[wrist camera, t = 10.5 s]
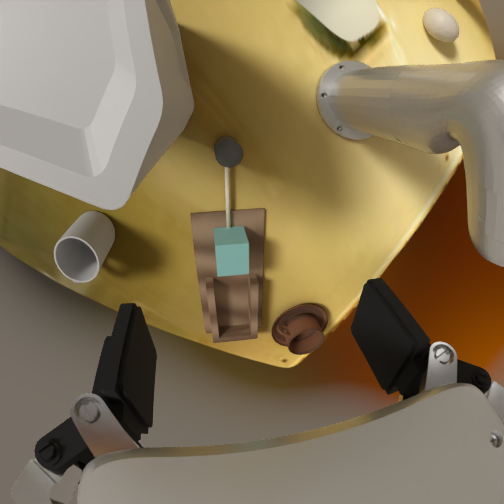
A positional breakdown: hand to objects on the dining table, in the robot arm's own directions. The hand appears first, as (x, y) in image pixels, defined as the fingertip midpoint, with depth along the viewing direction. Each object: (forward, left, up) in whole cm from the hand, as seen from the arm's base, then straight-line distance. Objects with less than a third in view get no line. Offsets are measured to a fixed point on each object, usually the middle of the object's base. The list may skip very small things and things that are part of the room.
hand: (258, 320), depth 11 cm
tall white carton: (+10, -15, -31) cm, 35 cm away
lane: (-1, +20, -30) cm, 36 cm away
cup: (+21, +10, -31) cm, 38 cm away
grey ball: (-37, -29, -31) cm, 56 cm away
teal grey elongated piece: (-1, +6, -30) cm, 30 cm away
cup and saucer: (-14, +33, -31) cm, 47 cm away
